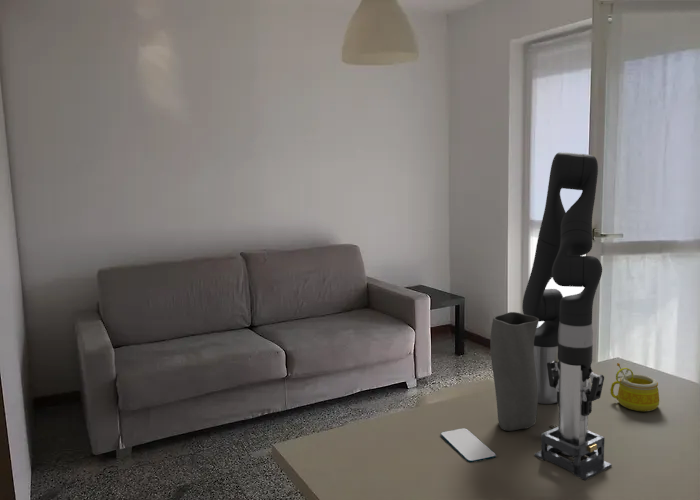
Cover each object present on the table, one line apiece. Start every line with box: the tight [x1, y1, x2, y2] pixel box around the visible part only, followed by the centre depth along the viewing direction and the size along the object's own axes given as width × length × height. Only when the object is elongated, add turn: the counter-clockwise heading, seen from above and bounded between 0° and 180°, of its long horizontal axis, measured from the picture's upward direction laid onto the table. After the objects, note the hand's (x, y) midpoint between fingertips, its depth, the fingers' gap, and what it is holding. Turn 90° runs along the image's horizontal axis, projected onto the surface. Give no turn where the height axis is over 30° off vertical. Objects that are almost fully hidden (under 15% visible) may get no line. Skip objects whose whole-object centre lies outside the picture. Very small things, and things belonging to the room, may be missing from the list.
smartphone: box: [440, 427, 497, 463], centre depth 151 cm, size 8×1×16 cm
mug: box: [609, 362, 660, 412], centre depth 170 cm, size 13×11×12 cm
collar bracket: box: [533, 425, 613, 481], centre depth 141 cm, size 14×10×6 cm
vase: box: [489, 311, 540, 432], centre depth 159 cm, size 12×12×30 cm
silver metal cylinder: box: [558, 362, 590, 458], centre depth 139 cm, size 6×6×25 cm
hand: (573, 410), depth 139 cm, fingers closed on silver metal cylinder, 5 cm apart
